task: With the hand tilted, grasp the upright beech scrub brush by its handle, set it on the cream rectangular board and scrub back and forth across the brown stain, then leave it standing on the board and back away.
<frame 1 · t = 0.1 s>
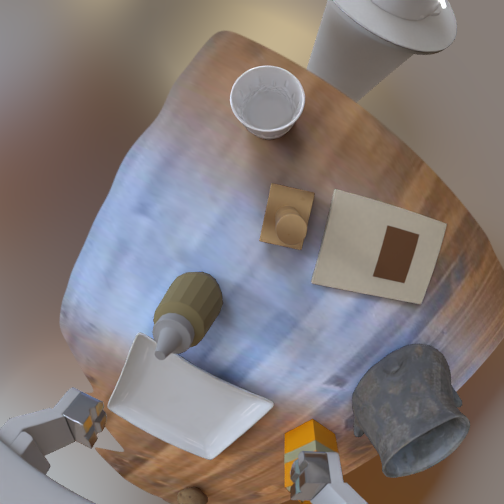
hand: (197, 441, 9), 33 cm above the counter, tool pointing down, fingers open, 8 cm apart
orange juice: (310, 433, 50), on the counter
vessel: (390, 379, 45), on the counter
scrub brush: (285, 213, 39), on the counter
cream rectangular board: (383, 250, 39), on the counter
squeeze bottle: (201, 288, 43), on the counter
square plate: (183, 399, 50), on the counter
white cup: (268, 117, 36), on the counter
natural sponge: (195, 486, 61), on the counter
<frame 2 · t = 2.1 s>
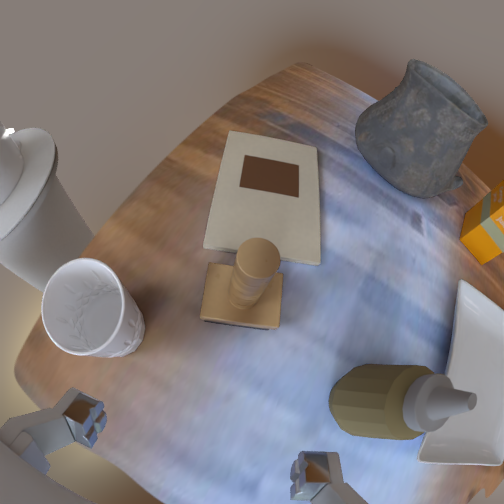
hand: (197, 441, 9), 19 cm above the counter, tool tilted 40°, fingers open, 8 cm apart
orange juice: (473, 238, 42), on the counter
vessel: (398, 169, 45), on the counter
scrub brush: (239, 304, 30), on the counter
cream rectangular board: (268, 190, 38), on the counter
squeeze bottle: (349, 398, 28), on the counter
square plate: (477, 386, 29), on the counter
white cup: (117, 327, 27), on the counter
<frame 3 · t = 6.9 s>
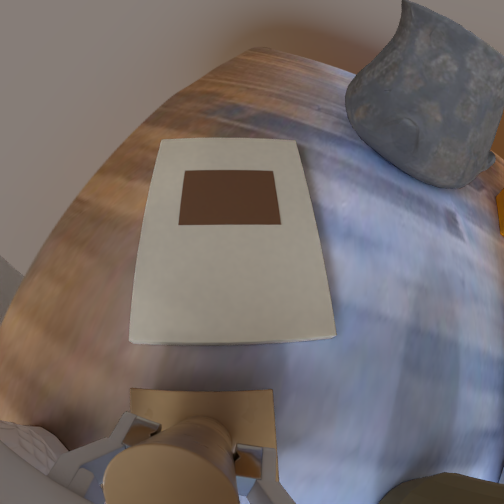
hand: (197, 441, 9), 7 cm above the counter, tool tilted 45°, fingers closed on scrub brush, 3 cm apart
vessel: (410, 154, 31), on the counter
scrub brush: (206, 432, 15), on the counter, touching gripper
cream rectangular board: (229, 221, 23), on the counter
white cup: (46, 464, 11), on the counter
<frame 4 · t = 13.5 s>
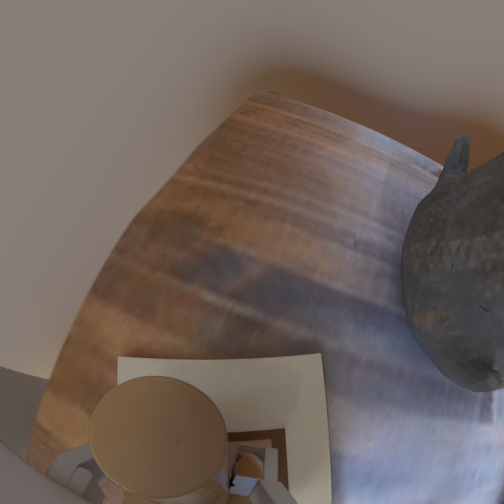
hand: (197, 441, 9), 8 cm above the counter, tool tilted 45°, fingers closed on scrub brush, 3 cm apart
vessel: (462, 306, 22), on the counter
scrub brush: (205, 496, 11), point 2 cm above the counter, tilted 28°, touching gripper
cream rectangular board: (227, 492, 13), on the counter
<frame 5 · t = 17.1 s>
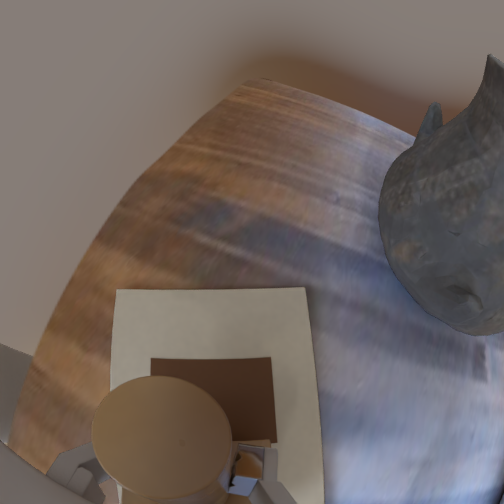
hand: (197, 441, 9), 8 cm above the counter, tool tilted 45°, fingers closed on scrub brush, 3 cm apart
vessel: (446, 263, 24), on the counter
scrub brush: (203, 495, 11), point 2 cm above the counter, tilted 28°, touching gripper
cream rectangular board: (214, 430, 16), on the counter
when the fingers open (8 cm above the counter, at t = 20.3 s): scrub brush drops 1 cm, resting on cream rectangular board.
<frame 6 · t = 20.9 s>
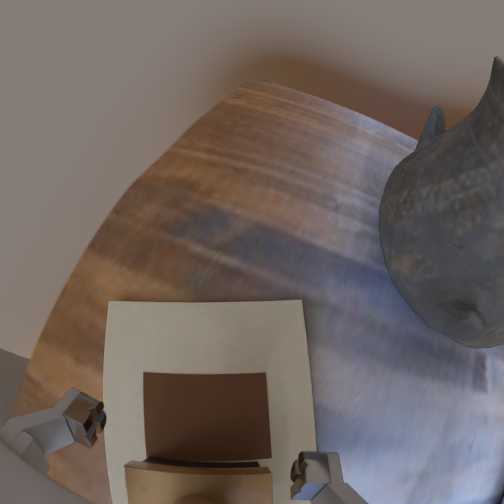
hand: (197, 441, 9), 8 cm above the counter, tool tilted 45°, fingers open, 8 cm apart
vessel: (448, 271, 23), on the counter
scrub brush: (203, 493, 12), point 1 cm above the counter, touching cream rectangular board
cream rectangular board: (208, 444, 15), on the counter
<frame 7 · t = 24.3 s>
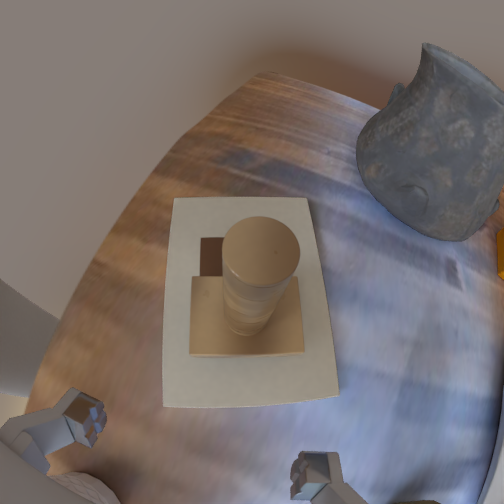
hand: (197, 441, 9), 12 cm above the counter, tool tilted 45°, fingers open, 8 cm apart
vessel: (416, 199, 33), on the counter
scrub brush: (243, 327, 22), point 1 cm above the counter, touching cream rectangular board
cream rectangular board: (245, 291, 25), on the counter
white cup: (91, 501, 13), on the counter
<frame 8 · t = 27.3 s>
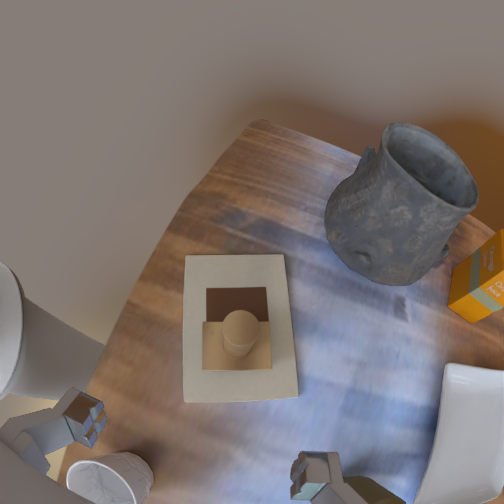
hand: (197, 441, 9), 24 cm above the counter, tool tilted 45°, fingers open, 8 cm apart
orange juice: (462, 296, 41), on the counter
vessel: (377, 246, 44), on the counter
scrub brush: (235, 351, 33), point 1 cm above the counter, touching cream rectangular board
cream rectangular board: (237, 325, 36), on the counter
squeeze bottle: (339, 494, 25), on the counter
square plate: (469, 442, 27), on the counter
white cup: (129, 473, 24), on the counter
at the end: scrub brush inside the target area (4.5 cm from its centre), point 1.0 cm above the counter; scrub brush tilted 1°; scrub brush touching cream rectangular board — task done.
